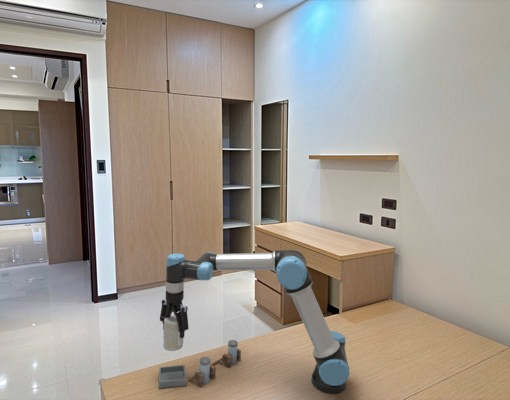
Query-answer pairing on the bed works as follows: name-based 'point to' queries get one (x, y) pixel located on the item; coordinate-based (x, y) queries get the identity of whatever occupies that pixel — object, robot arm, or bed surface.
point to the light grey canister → (171, 334)
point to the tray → (172, 376)
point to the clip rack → (214, 368)
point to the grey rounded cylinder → (205, 369)
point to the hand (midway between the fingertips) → (173, 341)
